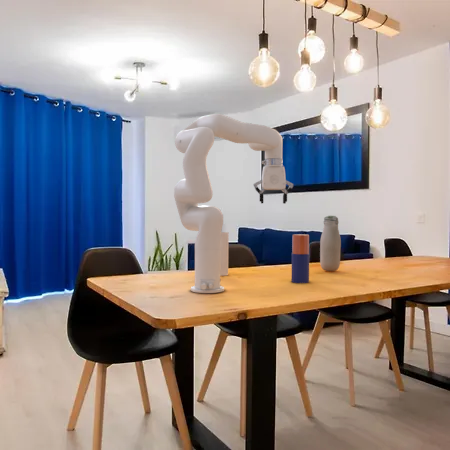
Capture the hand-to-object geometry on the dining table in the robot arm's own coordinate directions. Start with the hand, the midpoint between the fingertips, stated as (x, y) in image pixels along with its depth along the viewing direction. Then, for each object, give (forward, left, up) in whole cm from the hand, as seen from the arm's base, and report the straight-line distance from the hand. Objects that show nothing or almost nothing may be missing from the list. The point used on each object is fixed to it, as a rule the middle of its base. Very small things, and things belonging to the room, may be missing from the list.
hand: (273, 203), depth 189 cm
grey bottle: (+29, -33, -34) cm, 55 cm away
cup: (-5, -11, -21) cm, 24 cm away
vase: (+19, +23, -34) cm, 45 cm away
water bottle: (-5, -11, -33) cm, 35 cm away
